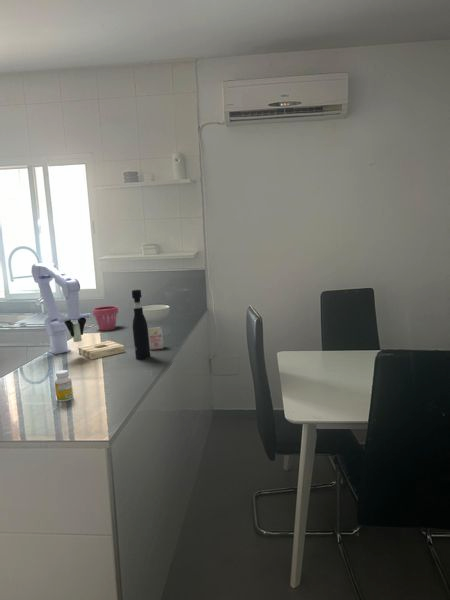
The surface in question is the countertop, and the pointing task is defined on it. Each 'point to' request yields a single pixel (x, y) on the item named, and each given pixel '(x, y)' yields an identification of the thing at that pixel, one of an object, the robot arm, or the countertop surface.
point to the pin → (77, 332)
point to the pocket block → (101, 349)
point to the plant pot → (106, 317)
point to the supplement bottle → (63, 386)
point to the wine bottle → (140, 329)
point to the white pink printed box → (155, 338)
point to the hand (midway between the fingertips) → (77, 335)
